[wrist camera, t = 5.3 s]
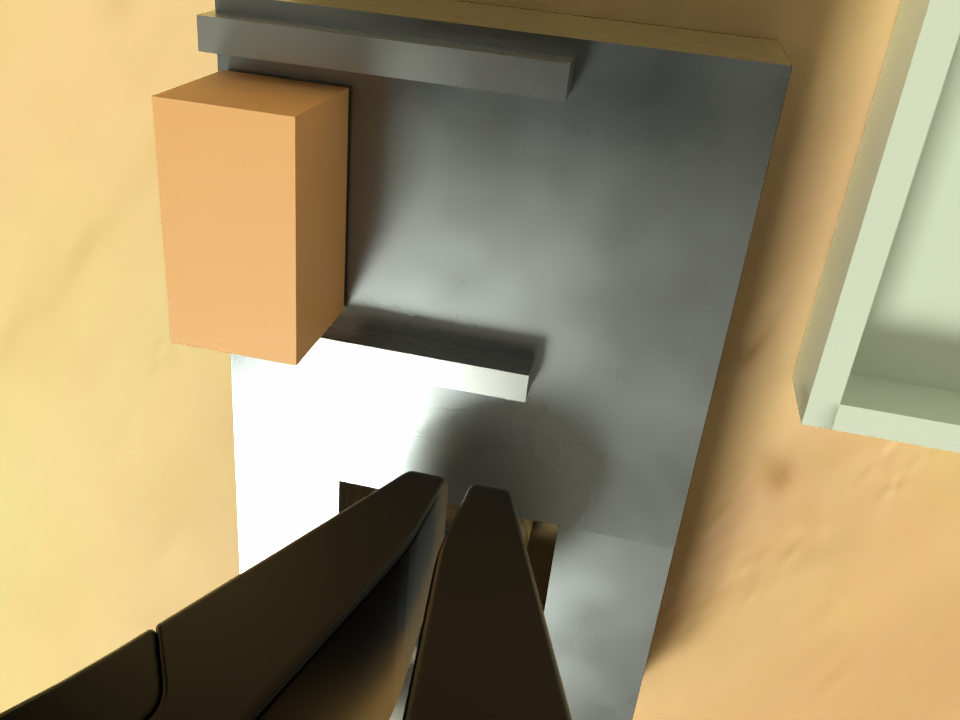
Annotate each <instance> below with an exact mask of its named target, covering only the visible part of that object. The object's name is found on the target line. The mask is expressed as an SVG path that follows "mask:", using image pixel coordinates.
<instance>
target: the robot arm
mask: <svg viewBox="0 0 960 720" xmlns="http://www.w3.org/2000/svg"><path fill="white" fill-rule="evenodd" d="M447 499H448V483H447V481H446V479H445V478H444V477H441V476H436V475H431V474H426V473H421V472H416V471H408V472H406V473H404V474H402V475H401V476H399V477H397V478H396V479H394V480H392V481H391V482H389V483H388V484H386V485H384V486H383V487H381V488H379V489H378V490H376V491H374V492H373V493H371V494H370V495H368V496H366V497H365V498H363V499H361V500H360V501H358V502H357V503H355V504H353V505H352V506H350V507H348V508H347V509H345V510H344V511H342V512H340V513H339V514H337V515H335V516H334V517H332V518H330V519H329V520H327V521H326V522H324V523H322V524H321V525H319V526H317V527H316V528H314V529H313V530H311V531H309V532H308V533H306V534H304V535H303V536H301V537H299V538H298V539H296V540H295V541H293V542H291V543H290V544H288V545H286V546H285V547H283V548H282V549H280V550H278V551H277V552H275V553H273V554H272V555H270V556H269V557H267V558H265V559H264V560H262V561H260V562H259V563H257V564H255V565H254V566H252V567H251V568H249V569H247V570H246V571H244V572H242V573H241V574H239V575H238V576H236V577H234V578H233V579H231V580H229V581H228V582H226V583H225V584H223V585H221V586H220V587H218V588H216V589H215V590H213V591H211V592H210V593H208V594H207V595H205V596H203V597H202V598H200V599H198V600H197V601H195V602H194V603H192V604H190V605H189V606H187V607H185V608H184V609H182V610H180V611H179V612H177V613H176V614H174V615H172V616H171V617H169V618H167V619H166V620H164V621H163V622H161V623H159V624H158V625H157V626H156V632H155V631H154V630H147V631H146V632H144V633H142V634H141V635H139V636H138V637H136V638H134V639H133V640H131V641H129V642H128V643H126V644H124V645H123V646H121V647H120V648H118V649H116V650H115V651H113V652H111V653H109V654H108V655H106V656H104V657H103V658H101V659H99V660H97V661H96V662H94V663H92V664H91V665H89V666H87V667H85V668H84V669H82V670H80V671H78V672H77V673H75V674H73V675H72V676H70V677H68V678H66V679H65V680H63V681H61V682H59V683H57V684H56V685H54V686H52V687H50V688H48V689H46V690H44V691H42V692H40V693H38V694H37V695H35V696H33V697H31V698H29V699H27V700H25V701H23V702H21V703H19V704H17V705H16V706H14V707H12V708H10V709H8V710H6V711H4V712H2V713H0V720H390V717H391V715H392V713H393V710H394V708H395V705H396V703H397V700H398V698H399V695H400V693H401V689H402V686H403V683H404V680H405V677H406V674H407V671H408V668H409V665H410V662H411V658H412V655H413V651H414V648H415V645H416V641H417V638H418V635H419V631H420V628H421V632H420V637H419V642H418V646H417V651H416V656H415V661H414V666H413V670H412V675H411V680H410V685H409V690H408V695H407V699H406V704H405V709H404V714H403V719H402V720H572V716H571V712H570V708H569V705H568V701H567V697H566V694H565V690H564V686H563V683H562V679H561V675H560V671H559V668H558V664H557V660H556V657H555V653H554V649H553V646H552V642H551V638H550V635H549V631H548V627H547V623H546V620H545V616H544V612H543V609H542V605H541V601H540V598H539V594H538V590H537V586H536V583H535V579H534V575H533V572H532V568H531V564H530V561H529V557H528V553H527V550H526V546H525V542H524V538H523V535H522V531H521V527H520V524H519V520H518V516H517V513H516V509H515V505H514V501H513V498H512V495H511V493H510V492H509V491H508V490H506V489H501V488H496V487H491V486H486V485H481V484H474V485H471V486H470V487H469V489H468V491H467V493H466V495H465V497H464V499H463V501H462V503H461V505H460V507H459V509H458V511H457V513H456V515H455V517H454V519H453V521H452V523H451V525H450V528H449V530H448V532H447V534H446V536H445V538H444V533H445V522H446V510H447ZM422 621H423V622H422ZM421 624H422V627H421Z"/></svg>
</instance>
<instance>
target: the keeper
mask: <svg viewBox="0 0 960 720" xmlns="http://www.w3.org/2000/svg"><path fill="white" fill-rule="evenodd" d="M348 100H349V88H348V87H341V86H334V85H327V84H320V83H313V82H305V81H298V80H291V79H284V78H277V77H270V76H263V75H255V74H248V73H241V72H234V71H227V70H222V71H219V72H217V73H214V74H211V75H208V76H206V77H203V78H200V79H198V80H195V81H192V82H189V83H187V84H184V85H181V86H178V87H176V88H173V89H170V90H167V91H165V92H162V93H159V94H156V95H154V96H152V102H153V115H154V128H155V141H156V154H157V167H158V179H159V192H160V205H161V218H162V231H163V244H164V256H165V269H166V282H167V295H168V308H169V321H170V333H171V342H172V343H177V344H183V345H188V346H194V347H199V348H204V349H210V350H215V351H220V352H226V353H231V354H236V355H242V356H247V357H252V358H258V359H263V360H268V361H274V362H279V363H284V364H290V365H295V366H296V365H297V364H298V363H299V362H300V361H301V360H302V358H303V357H304V356H305V355H306V354H307V353H308V351H309V350H310V349H311V348H312V347H313V346H314V344H315V343H316V342H317V341H318V340H319V339H320V337H321V336H322V335H323V334H324V333H325V331H326V330H327V329H328V328H329V327H330V326H331V324H332V323H333V322H334V321H335V320H336V319H337V317H338V316H339V315H340V314H341V313H342V312H343V310H344V280H345V235H346V190H347V145H348Z"/></svg>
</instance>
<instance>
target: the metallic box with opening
mask: <svg viewBox="0 0 960 720" xmlns="http://www.w3.org/2000/svg"><path fill="white" fill-rule="evenodd" d="M197 30H198V48H199V51H202V52H209V53H217V56H218V72H219V71H222V70H227V71H234V72H241V73H248V74H255V75H263V76H270V77H277V78H284V79H291V80H298V81H305V82H313V83H320V84H327V85H334V86H341V87H348V88H349V100H348V145H347V190H346V235H345V280H344V310H343V312H342V313H341V314H340V315H339V316H338V317H337V319H336V320H335V321H334V322H333V323H332V324H331V326H330V327H329V328H328V329H327V330H326V331H325V333H324V334H323V335H322V336H321V337H320V339H319V340H318V341H317V342H316V343H315V344H314V346H313V347H312V348H311V349H310V350H309V351H308V353H307V354H306V355H305V356H304V357H303V358H302V360H301V361H300V362H299V363H298V364H297V365H296V366H295V365H290V364H284V363H279V362H274V361H268V360H263V359H258V358H252V357H247V356H242V355H236V354H231V353H230V354H231V377H232V400H233V423H234V446H235V469H236V492H237V514H238V537H239V560H240V574H241V573H242V572H244V571H246V570H247V569H249V568H251V567H252V566H254V565H255V564H257V563H259V562H260V561H262V560H264V559H265V558H267V557H269V556H270V555H272V554H273V553H275V552H277V551H278V550H280V549H282V548H283V547H285V546H286V545H288V544H290V543H291V542H293V541H295V540H296V539H298V538H299V537H301V536H303V535H304V534H306V533H308V532H309V531H311V530H313V529H314V528H316V527H317V526H319V525H321V524H322V523H324V522H326V521H327V520H329V519H330V518H332V517H334V516H335V515H337V514H339V513H340V512H342V511H344V510H345V509H347V508H348V507H350V506H352V505H353V504H355V503H357V502H358V501H360V500H361V499H363V498H365V497H366V496H368V495H370V494H371V493H373V492H374V491H376V488H377V489H379V488H381V487H383V486H384V485H386V484H388V483H389V482H391V481H392V480H394V479H396V478H397V477H399V476H401V475H402V474H404V473H406V472H408V471H416V472H421V473H426V474H431V475H436V476H441V477H444V478H445V479H446V481H447V483H448V499H447V503H451V504H456V505H461V503H462V501H463V499H464V497H465V495H466V493H467V491H468V489H469V487H470V486H471V485H474V484H481V485H486V486H491V487H496V488H501V489H506V490H508V491H509V492H510V493H511V495H512V498H513V501H514V505H515V509H516V513H517V516H518V517H519V518H524V519H529V520H534V521H539V522H544V523H548V524H553V525H558V531H557V537H556V543H555V549H554V555H553V561H552V567H551V573H550V579H549V585H548V591H547V597H546V603H545V604H543V603H541V605H542V609H543V612H544V616H545V620H546V623H547V627H548V631H549V635H550V638H551V642H552V646H553V649H554V653H555V657H556V660H557V664H558V668H559V671H560V675H561V679H562V683H563V686H564V690H565V694H566V697H567V701H568V705H569V708H570V712H571V716H572V720H632V719H633V715H634V711H635V707H636V703H637V698H638V694H639V690H640V686H641V682H642V678H643V674H644V670H645V666H646V662H647V658H648V653H649V649H650V645H651V641H652V637H653V633H654V629H655V625H656V621H657V617H658V613H659V608H660V604H661V600H662V596H663V592H664V588H665V584H666V580H667V576H668V572H669V568H670V563H671V559H672V555H673V551H674V547H675V543H676V539H677V535H678V531H679V527H680V523H681V519H682V514H683V510H684V506H685V502H686V498H687V494H688V490H689V486H690V482H691V478H692V474H693V469H694V465H695V461H696V457H697V453H698V449H699V445H700V441H701V437H702V433H703V429H704V424H705V420H706V416H707V412H708V408H709V404H710V400H711V396H712V392H713V388H714V384H715V379H716V375H717V371H718V367H719V363H720V359H721V355H722V351H723V347H724V343H725V339H726V335H727V330H728V326H729V322H730V318H731V314H732V310H733V306H734V302H735V298H736V294H737V290H738V285H739V281H740V277H741V273H742V269H743V265H744V261H745V257H746V253H747V249H748V245H749V240H750V236H751V232H752V228H753V224H754V220H755V216H756V212H757V208H758V204H759V200H760V195H761V191H762V187H763V183H764V179H765V175H766V171H767V167H768V163H769V159H770V155H771V150H772V146H773V142H774V138H775V134H776V130H777V126H778V122H779V118H780V114H781V110H782V106H783V101H784V97H785V93H786V89H787V85H788V81H789V77H790V73H791V69H792V65H791V63H790V61H789V60H788V58H787V56H786V54H785V53H784V51H783V49H782V47H781V46H780V44H779V42H778V40H770V39H762V38H754V37H746V36H738V35H729V34H721V33H713V32H705V31H697V30H689V29H681V28H673V27H665V26H657V25H649V24H640V23H632V22H624V21H616V20H608V19H600V18H592V17H584V16H576V15H568V14H560V13H552V12H543V11H535V10H527V9H519V8H511V7H503V6H495V5H487V4H479V3H471V2H463V1H454V0H215V11H211V12H207V13H202V14H198V15H197Z"/></svg>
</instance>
